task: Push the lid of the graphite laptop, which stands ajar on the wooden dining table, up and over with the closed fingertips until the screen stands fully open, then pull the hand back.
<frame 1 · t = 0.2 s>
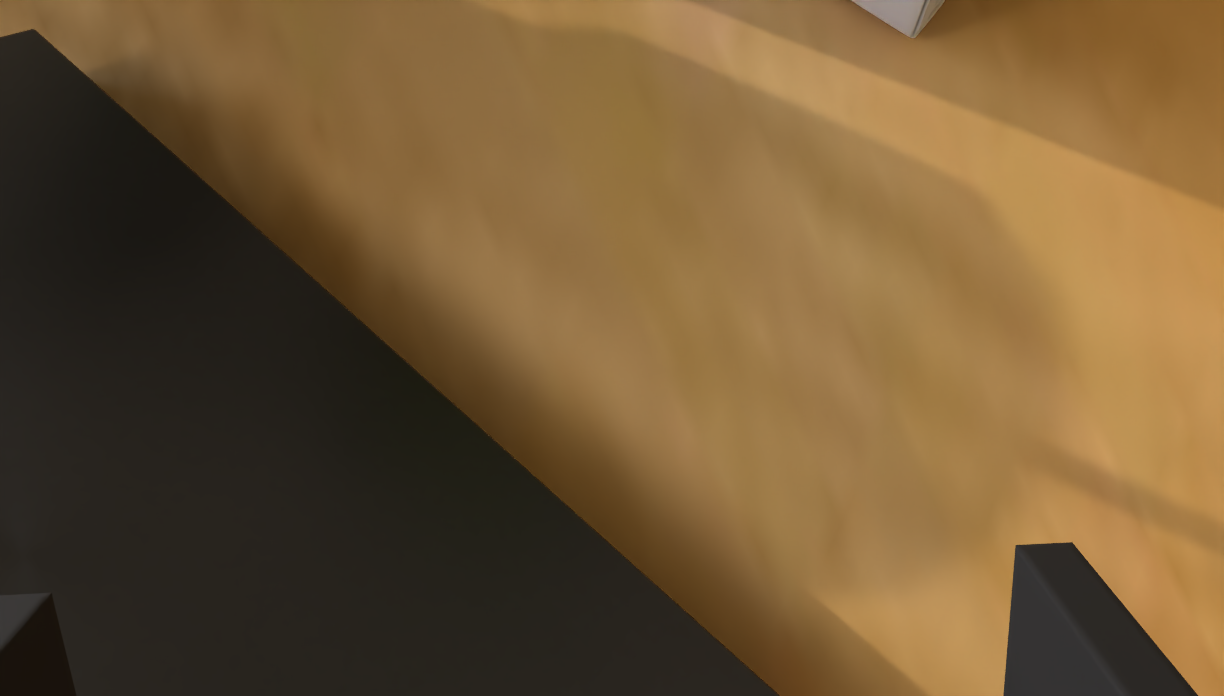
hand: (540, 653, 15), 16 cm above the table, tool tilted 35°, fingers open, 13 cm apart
laptop screen: (24, 565, 24), point 8 cm above the table, hinge at 35.0°
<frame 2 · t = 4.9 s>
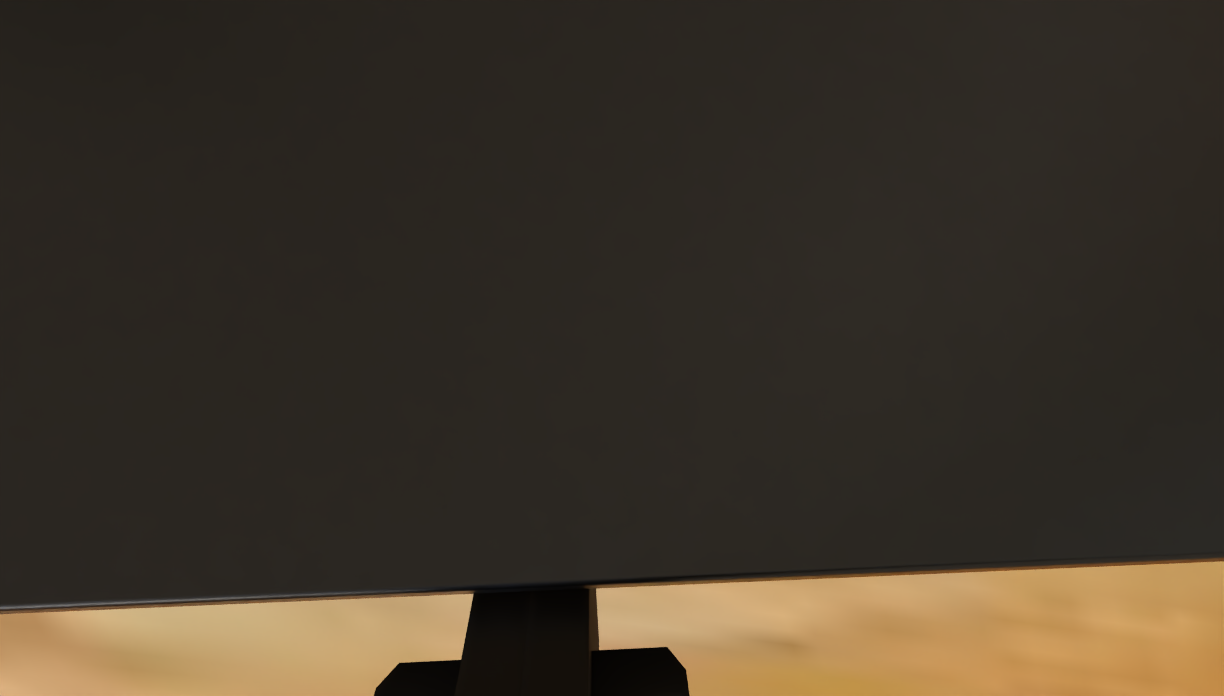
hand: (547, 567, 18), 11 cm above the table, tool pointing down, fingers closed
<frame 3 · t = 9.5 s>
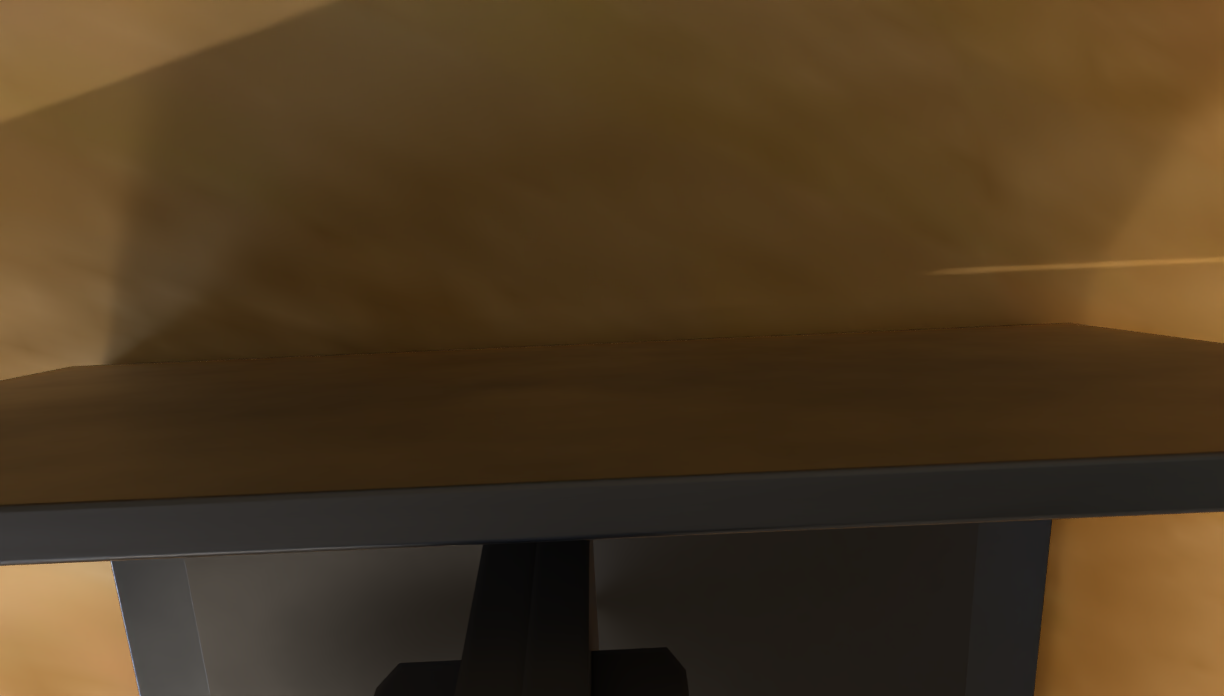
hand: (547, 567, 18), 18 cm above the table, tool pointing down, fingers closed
laptop: (588, 635, 39), on the table
laptop screen: (556, 401, 23), point 12 cm above the table, hinge at 105.1°, touching gripper
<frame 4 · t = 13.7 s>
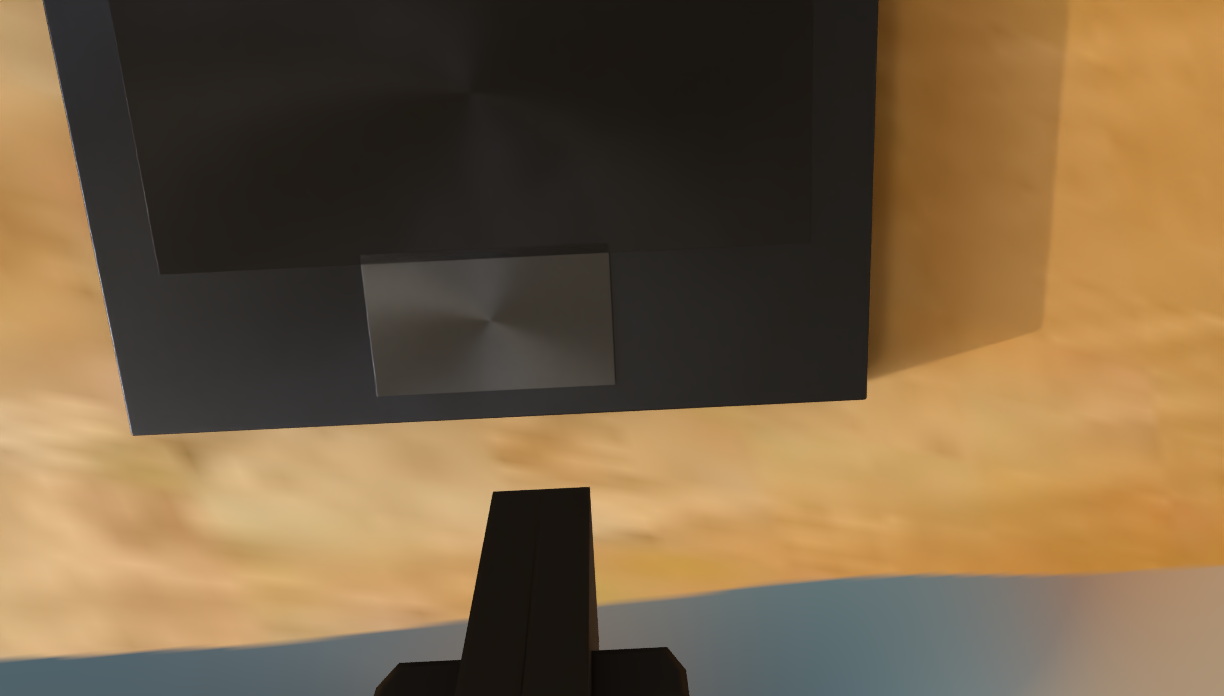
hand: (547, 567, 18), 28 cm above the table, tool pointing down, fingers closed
laptop: (481, 153, 44), on the table
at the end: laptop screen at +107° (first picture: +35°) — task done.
